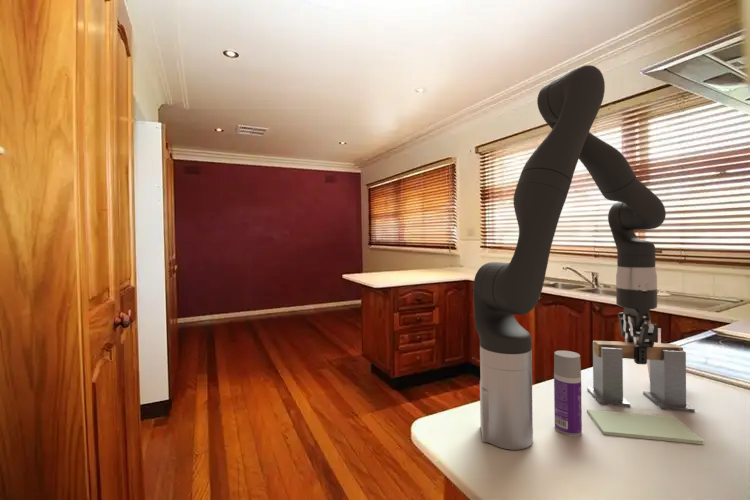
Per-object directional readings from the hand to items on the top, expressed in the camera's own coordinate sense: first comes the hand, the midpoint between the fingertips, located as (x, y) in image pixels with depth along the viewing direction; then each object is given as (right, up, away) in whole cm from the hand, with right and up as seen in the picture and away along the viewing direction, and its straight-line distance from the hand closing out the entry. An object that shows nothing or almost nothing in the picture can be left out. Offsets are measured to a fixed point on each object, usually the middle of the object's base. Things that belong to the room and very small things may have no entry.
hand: (636, 360), depth 80 cm
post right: (+6, -9, -1) cm, 11 cm away
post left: (-6, -9, +2) cm, 11 cm away
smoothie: (+13, -9, +9) cm, 18 cm away
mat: (-8, -10, -11) cm, 17 cm away
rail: (0, +1, 0) cm, 1 cm away
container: (-22, -10, -12) cm, 27 cm away
